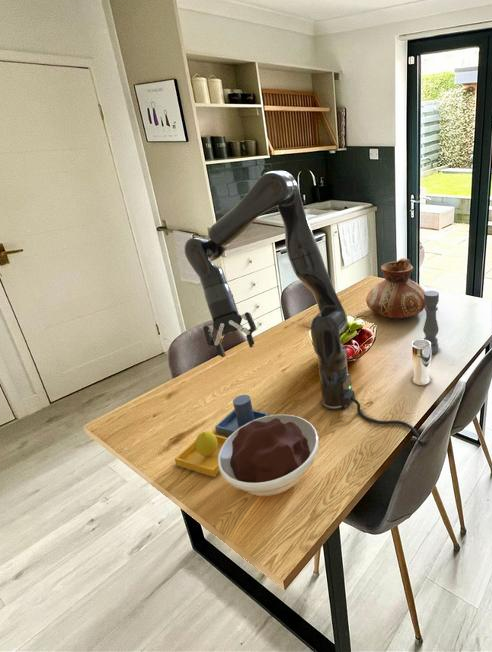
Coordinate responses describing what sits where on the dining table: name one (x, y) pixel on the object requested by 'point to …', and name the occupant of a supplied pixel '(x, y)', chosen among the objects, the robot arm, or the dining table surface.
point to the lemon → (206, 443)
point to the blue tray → (234, 422)
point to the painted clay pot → (396, 292)
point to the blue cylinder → (243, 410)
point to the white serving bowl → (268, 454)
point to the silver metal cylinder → (421, 361)
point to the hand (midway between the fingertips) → (237, 351)
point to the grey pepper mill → (431, 319)
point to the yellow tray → (200, 459)
